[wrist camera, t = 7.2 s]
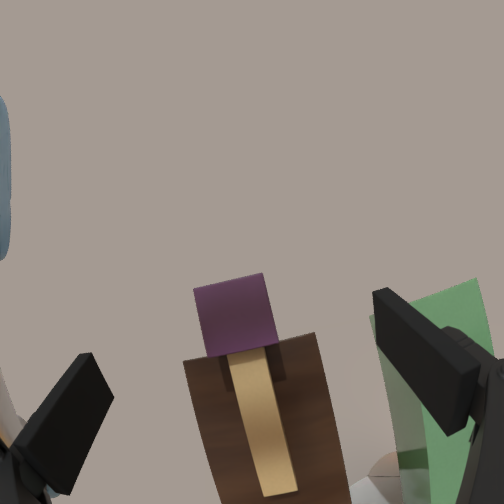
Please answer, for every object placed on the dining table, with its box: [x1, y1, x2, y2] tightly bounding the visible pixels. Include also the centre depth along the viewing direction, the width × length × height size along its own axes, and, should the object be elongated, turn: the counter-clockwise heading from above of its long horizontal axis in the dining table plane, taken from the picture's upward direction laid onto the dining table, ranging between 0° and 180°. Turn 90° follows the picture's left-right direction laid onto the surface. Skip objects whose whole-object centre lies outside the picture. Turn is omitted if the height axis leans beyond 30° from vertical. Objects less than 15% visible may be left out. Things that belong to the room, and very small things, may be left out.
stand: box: [183, 332, 352, 504], centre depth 22 cm, size 10×10×32 cm
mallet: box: [193, 273, 298, 497], centre depth 20 cm, size 16×4×4 cm
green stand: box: [369, 278, 494, 504], centre depth 26 cm, size 10×10×32 cm
